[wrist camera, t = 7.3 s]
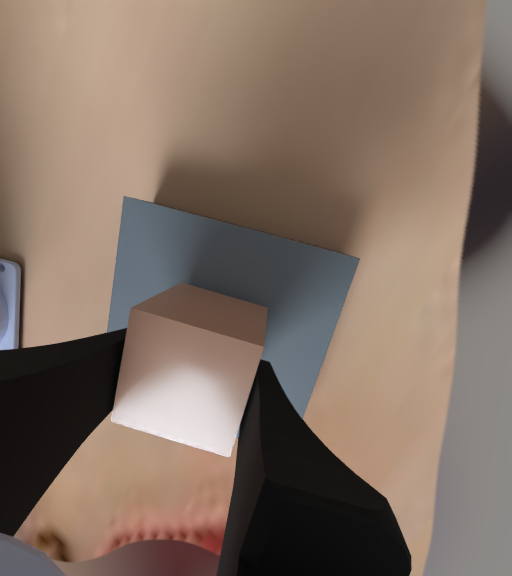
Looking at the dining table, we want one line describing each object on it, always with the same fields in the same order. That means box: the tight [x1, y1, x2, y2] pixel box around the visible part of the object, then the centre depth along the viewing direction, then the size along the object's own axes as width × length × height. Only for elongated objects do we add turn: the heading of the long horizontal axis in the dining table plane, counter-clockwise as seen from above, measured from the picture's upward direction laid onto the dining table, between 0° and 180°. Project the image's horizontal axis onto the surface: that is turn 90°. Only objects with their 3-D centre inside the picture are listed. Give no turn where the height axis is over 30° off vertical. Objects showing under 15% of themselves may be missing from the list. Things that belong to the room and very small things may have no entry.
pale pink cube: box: [111, 282, 268, 457], centre depth 11 cm, size 4×4×4 cm
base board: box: [107, 196, 360, 438], centre depth 15 cm, size 12×12×3 cm
